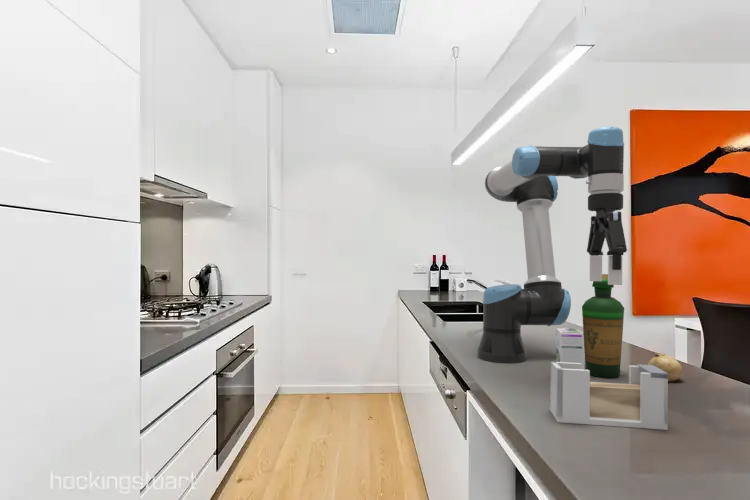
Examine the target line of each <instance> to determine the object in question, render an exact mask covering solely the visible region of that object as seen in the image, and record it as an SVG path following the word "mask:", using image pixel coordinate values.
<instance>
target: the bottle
mask: <svg viewBox="0 0 750 500" xmlns="http://www.w3.org/2000/svg"><path fill="white" fill-rule="evenodd" d="M592 287H593V288H594V296H592V297H590V298H588V299H587V300H586V301H584V303H583V304H582V306H581V312H582V313H581V315H582V328H583V329H582V330H583V331H582V332H583V334H584V370H589V371H590V376H593V377H596V378H604V379H614V378H618V377H620V374H621V362H622V361H621V360H622V359H621V358H622V349H623V335H624V334H623V333H624V318H625V307H624V306H623V304H622V302H621V301H619V300H618V299H616V298H615V297H612V291H613V290H612V289H614V288H615V285H608V273H602V281H592Z"/></svg>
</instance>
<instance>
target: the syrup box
mask: <svg viewBox="0 0 750 500" xmlns="http://www.w3.org/2000/svg"><path fill="white" fill-rule="evenodd" d="M555 362H570V363H581V364H582V369H584V370H585V352H584V334H583V331H581V330H580V329H578V328H571V327H561V328H557V327H556V328H555Z"/></svg>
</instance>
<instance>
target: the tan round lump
mask: <svg viewBox="0 0 750 500" xmlns="http://www.w3.org/2000/svg"><path fill="white" fill-rule="evenodd" d="M647 365H654V366H655V367H657V368H659V369H661V370H663V371H664V372H666V373H668V383H669V382H670V383H672V382H676V381H677V380H679V379H680V378H681V377H682V375H683V367H682V365H681V363H680V362H679V361H678V360H677V359H675V358H674V357H671V356H669V355H667V354H665V353H664V352H663V353H660V352H655V354H654V357H652V358H650V360H649V361H648V362H647Z"/></svg>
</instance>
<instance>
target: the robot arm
mask: <svg viewBox="0 0 750 500" xmlns="http://www.w3.org/2000/svg"><path fill="white" fill-rule="evenodd" d="M624 149H625V143H624V132H623V129H622V128H620V127H618V126H603V127H597V128H594V129H592V130H590V132H589V133H588V137H587V144H585V145H584V146H539V145H538V146H537V145H536V146H533V145H527V146H518V147H516V148H515V150H514V152H513V154H512V158H511V159H512V160H511V161H510V162H507V164H505V165H504V166H498V167H495V168H494V169H491V170H490V171H489V172H488V174H487V175H486V176H485V180H484V187H485V190H486V192H487V193H488V195H490V197H492V198H493V199H495V200H498V201H500V202H504V203H505V202H508V203H516V208H517V210H518V211H520V212H521V214H522V215H521V216H522V227H523V236H524V237H523V238H524V249H525V250H524V251H525V260H526V271H527V272H526V273H527V280H526V281H525V282H524V284H523V288H522V286H521V285H520V284H517V283H515V284H514V283H513V284H501V285H500V284H499V285H494V286H489V287H487V288H485V290H484V291H483V300H482V304H483V306H482V307H483V308H482V309H483V310H482V311H483V313H482V315H483V316H482V317H483V318H482V319H483V321H482V324H483V325H482V328H483V329H482V330H483V332H482V334H481V338H480V340H479V345H478V348H477V353H476V354H477V358H479V359H481V360H484V361H488V362H494V363H502V364H503V363H504V364H505V363H507V364H511V363H512V364H513V363H522V362H525V361H526V360H527V351H526V348H525V343H524V341H523V337H522V335H521V334H522V333H521V326H547V327H551V326H561V325H563V324H565V322H566V321H567V319H568V318H569V316H570V313H571V312H570V311H571V306H572V299H571V294H570V292H569V291H568V290H567V289H565V288H562V287H563V286H562V281H560V280H559V279H558V278H556V270H555V269H556V268H555V260H554V250H553V241H552V230H551V221H550V208H552V206H553V205H554V203H553V202H555V201H556V200H557V197H558V191H559V185H558V179H557V177H569V178H571V179H575V180H576V179H578V180H579V179H586V178H587V180H586V181H585V184H586V185H587V186H588V187H587V189H588V190H587V192H588V193H589V195H588V196H587V210H589V212H595V215H591V217H590V228H589V232H588V233H589V234H588V241H587V242H588V243H587V247H586V253H588V254H589V281H590V282H593V281H602V274H603V256H604V252H603V246H604V244H605V243H604V242H605V241H606V244H607V248H608V250H607V252H606V256H607V274H608V285H614V286H622V285H623V256H624V253H627V251H628V247H627V244H626V243H627V242H626V238H625V232H624V227H623V221H622V212H621V211H620V210H623V208H624V194H622V192H624V190H625V189H624V187H625V186H624V182H625V181H624V180H625V176H624V175H625V174H624V155H625V153H624V152H625V150H624Z"/></svg>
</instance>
